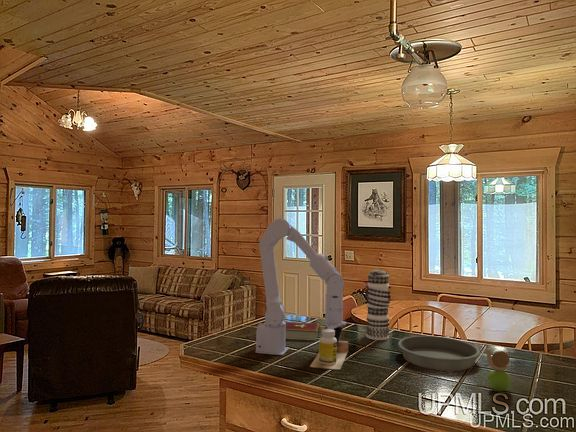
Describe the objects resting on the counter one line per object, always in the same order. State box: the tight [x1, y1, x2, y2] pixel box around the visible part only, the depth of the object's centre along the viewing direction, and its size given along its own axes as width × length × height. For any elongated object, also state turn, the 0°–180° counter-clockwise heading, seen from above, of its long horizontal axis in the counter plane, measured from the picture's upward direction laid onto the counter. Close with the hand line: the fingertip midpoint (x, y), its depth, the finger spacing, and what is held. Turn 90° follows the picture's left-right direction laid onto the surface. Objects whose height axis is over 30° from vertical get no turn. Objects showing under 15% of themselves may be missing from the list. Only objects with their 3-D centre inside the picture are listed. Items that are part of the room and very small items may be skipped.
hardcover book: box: [284, 321, 320, 341], centre depth 165 cm, size 12×21×4 cm, turn 82°
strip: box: [309, 340, 349, 371], centre depth 137 cm, size 9×20×3 cm, turn 165°
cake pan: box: [397, 335, 481, 372], centre depth 138 cm, size 25×25×4 cm
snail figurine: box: [485, 343, 512, 393], centre depth 113 cm, size 5×6×12 cm
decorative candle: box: [365, 269, 392, 341], centre depth 164 cm, size 9×9×25 cm
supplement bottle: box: [318, 328, 337, 365], centre depth 133 cm, size 5×5×10 cm
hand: (333, 349), depth 144 cm, fingers closed
